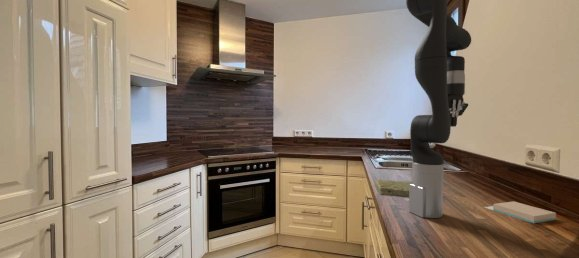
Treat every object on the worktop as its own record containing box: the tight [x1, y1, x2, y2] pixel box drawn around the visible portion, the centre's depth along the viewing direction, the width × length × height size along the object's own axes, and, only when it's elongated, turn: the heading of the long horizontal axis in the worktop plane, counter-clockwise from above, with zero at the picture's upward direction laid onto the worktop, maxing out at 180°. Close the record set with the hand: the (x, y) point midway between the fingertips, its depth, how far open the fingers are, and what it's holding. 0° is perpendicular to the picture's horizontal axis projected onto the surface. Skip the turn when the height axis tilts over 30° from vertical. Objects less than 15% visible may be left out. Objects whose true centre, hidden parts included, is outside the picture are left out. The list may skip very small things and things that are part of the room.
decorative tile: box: [374, 179, 412, 198], centre depth 117 cm, size 19×20×4 cm
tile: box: [492, 201, 557, 224], centre depth 87 cm, size 10×2×12 cm
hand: (452, 126), depth 106 cm, fingers closed
